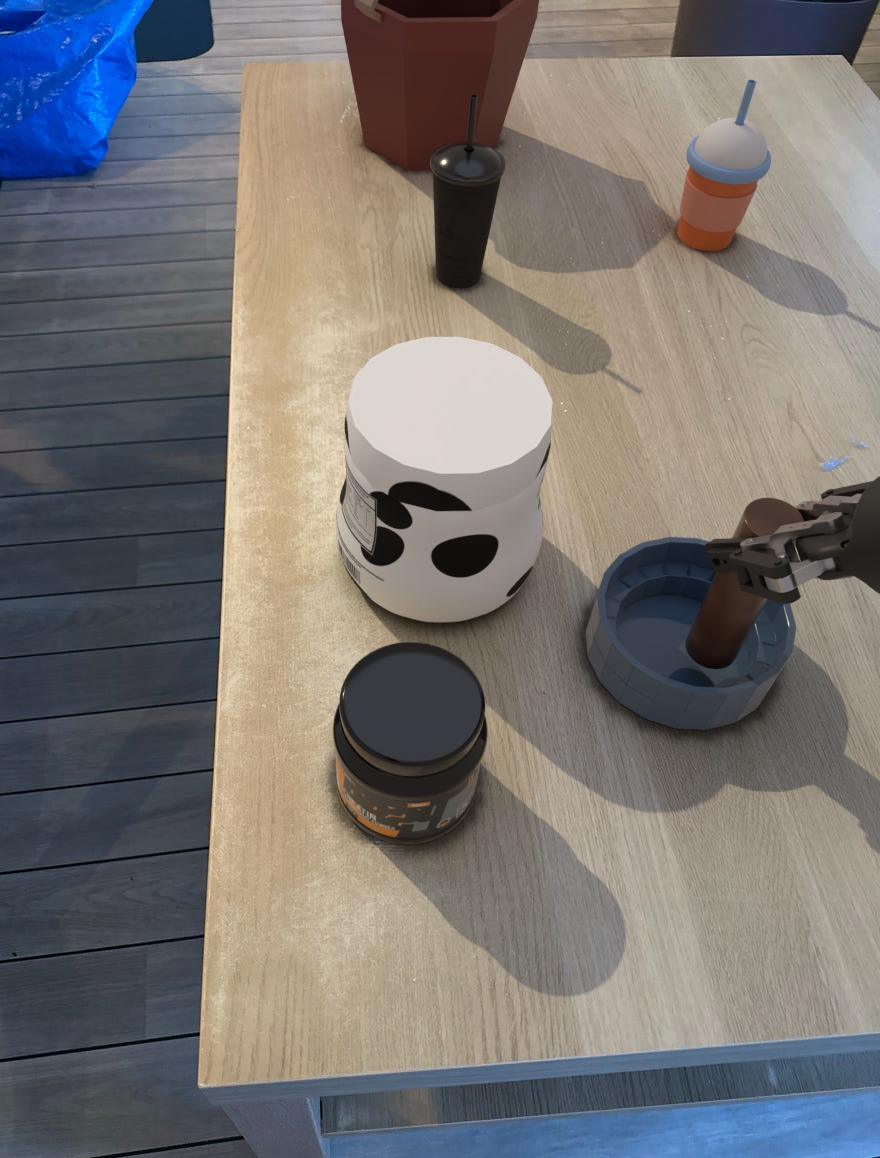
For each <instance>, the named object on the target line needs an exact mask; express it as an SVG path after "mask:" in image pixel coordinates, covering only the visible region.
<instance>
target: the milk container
mask: <svg viewBox="0 0 880 1158" xmlns="http://www.w3.org/2000/svg"><path fill="white" fill-rule="evenodd" d="M352 379H353V380H352V384H351V386H350V387H351V388H350V392H349V396H348V399H347V405H346V409H345V417H344V460H345V461H344V462H345V479H344V482H343V485H342V487H341V489H340V492H339V493H340V494H339V497H338V500H337V504H336V511H335V536H336V541H337V546H338V550H339V554H340V558H341V561H342V564H343V565H344V567H345V570H346V573H347V575H348V576H349V577H350V579H351V580H352V582H353V584H355V586H356V587H357V588H358V589H359V590H360V591H361V592H362V593H363V594H364V595H365V596H366V597H367V598H368V600H371V601H372V602H373V603H375V604H376V605H378V606H380V607H381V608H382V609H385V610H386V611H388V612H389V613H391V614H393V615H396V616H399V617H402V618H405V619H409V620H413V621H417V622H422V623H427V624H452V623H453V624H454V623H462V622H465V621H471V620H472V619H476V618H479V617H482V616H485V615H487V614H489V613H491V612H493V611H495V610H497V609H499V607H501V606H502V605H504V604H505V603H507V602H508V601H509V600H510V599H511V598H513V597H514V596H515V595H516V594H517V593H518V592H519V591H520V589H521V588H522V587H523V585H524V584H525V582H526V581H527V579H528V577H529V576H530V574H531V573H532V570H533V568H534V566H535V563H536V561H537V559H538V556H539V554H540V549H541V546H542V542H543V534H544V513H543V506H542V500H541V491H542V485H543V483H544V478H545V474H546V470H547V466H548V460H549V456H550V451H551V445H552V444H551V443H552V429H553V413H554V403H553V398H552V396H551V394H550V392H549V390H548V388H547V385H546V383H545V380H544V379H543V377H542V376H541V375H540V374H539V373H538V372H537V371H536V370H534V368H533V367H531V366H530V364H529V363H527V362H526V361H525V360H524V359H523V358H522V357H521V356H518V355H516V354H514V353H512V352H510V351H508V350H506V349H504V348H502V347H500V346H498V345H496V344H494V343H491V342H486V341H481V340H478V339H477V340H476V339H472V338H467V337H464V336H425V337H420V338H417V339H412V340H407V341H404V342H399V343H396V344H394V345H392V346H390V347H388V348H386V349H385V350H383V351H381V352H379V353H378V354H375V355H374V356H373V357H371V358H369V360H368V361H367V362H366V363H365V364H364V365H363V367H362V368H361V369H360V370H359V371H358V373H357V374H356V375H355V376H354V377H353V378H352Z"/></svg>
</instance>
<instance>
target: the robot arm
mask: <svg viewBox="0 0 880 1158" xmlns="http://www.w3.org/2000/svg"><path fill="white" fill-rule="evenodd" d="M820 498H821V500H804V501H801V502H800V503H798V504H797V505H795V506H794V507H795V508H796V509H797V510H798V511H799V512H800V513H801V515H802V516H803V518H804V521H805V522H799V523H793V524H788V525H782V526H780V527H779V528H778V529H777V530H776V531H775V532H774V533H773V534H772V535H766V536H760V537H754V538H732V537H728V538H727V537H726V538H713V539H711V540H710V541H709V543H707V544H706V545H705V551H706V553H707V556H708V559H709V562H710V564H711V567H712V569H713V570H714V571H716V572H735V573H736V576H737V579H738V581H739V586H740V589H741V591H744V592H747V593H750V594H753V595H756V596H759V597H762V598H766V599H769V600H772V601H775V602H778V603H781V604H789V603H790V604H793V603H795V602H797V601H798V600H800V599H801V597H802V596H801V593H800V592H801V591H800V590H799V586H801V585H803V584H805V583H807V582H810V581H811V580H813V579H818V580H821V581H837V580H843V579H844V580H845V579H850V578H853V577H854V578H856V579H858V580H859V581H861V582H862V583H864V584H865V585H866V586H868V587H869V588H870V589H872V590H873V591H874V592H876V593H877V594H879V595H880V475H879V476H877V477H876V478H875V479H874V480H871V481H866V482H861V483H856V484H851V485H846V486H841V487H837V488H829V489H826V490H825V491H824V492H822V493H821V494H820ZM795 537H796V538H797V539H796V541H795V546H796V547H795V546H794V543H793V540H792V538H795ZM768 548H771V549H773V550H774V551H775V554H776V556H772V555H768V554H765V553H764V550H763V549H768Z"/></svg>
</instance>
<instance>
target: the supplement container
mask: <svg viewBox="0 0 880 1158" xmlns="http://www.w3.org/2000/svg"><path fill="white" fill-rule="evenodd" d="M338 700H339V701H338V704H337V706H336V709H335V712H334V716H333V721H332V739H333V745H334V749H335V750H334V751H335V787H336V792H337V796H338V798H339V802H340V803H341V806H342V808H343V809H344V811H345V813H346V814H347V816H348V817H349V818H350V819H351V820H352V822H353V823H355V825H356V826H357V827H359V828H360V829H361V830H362V831H364V832H365V833H367V834H369V835H370V836H372V837H374V838H376V839H379V840H382V841H384V842H387V843H392V844H397V845H417V844H418V845H419V844H422V843H423V844H424V843H428V842H431V841H433V840H437V839H439V838H441V837H443V836H444V835H446V834H447V833H449V832H451V831H453V829H454V828H456V827H457V826H458V825H459V824H460V823H461V822H462V821H463V819H465V817H466V816H467V814H468V812H469V811H470V809H471V807H472V805H473V803H474V800H475V797H476V793H477V788H478V778H479V774H480V770H481V765H482V764H481V763H482V760H483V758H484V755H485V752H486V750H487V749H486V748H487V744H488V737H489V736H488V735H489V734H488V733H489V732H488V731H489V730H488V721H487V716H486V698H485V694H484V690H483V687H482V683H481V682H480V680H479V678H478V676H477V674H476V673H475V672H474V671H473V670H472V668H471V667H470V666H469V665H468V664H467V663H466V662H465V661H464V660H463V659H462V658H461V657H459V656H458V655H456V654H454V653H453V652H451V651H450V650H448V649H446V648H442V647H441V646H437V645H434V644H432V643H431V644H430V643H427V642H418V641H402V642H395V643H391V644H387V645H383V646H381V647H378V648H376V649H373V650H372V651H370V652H369V653H367V654H366V655H364V656H363V657H362V658H360V659H359V660H358V661H357V662H356V663H355V664H354V665H353V666H352V667H351V668H350V670H349V672H348V673H347V675H346V677H345V678H344V681H343V682H342V685H341V689H340V693H339V699H338Z"/></svg>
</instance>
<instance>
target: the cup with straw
mask: <svg viewBox="0 0 880 1158" xmlns="http://www.w3.org/2000/svg"><path fill="white" fill-rule="evenodd" d="M756 85H757V80H755V79H748V80H747V82H746V85H745V89H744V92H743V95H742V98H741V101H740V105H739V108H738V112H737V115H736V117H727V118H722V119H719V120H716V121H714V122H713V123H711V124H709V125H708V126H707V127H706V128H705V129H703V131H701V133H700V134H698V135H697V136H695V137H694V138H693V139H692V140H691V141H690V142H689V144H688V147H687V149H686V155H685V157H686V161H687V164H688V165H689V167H688V169H687V171H686V174H685V180H684V185H683V191H682V195H681V202H680V207H679V214H680V216H679V221H678V228H677V236H678V238H679V239H680V241H682V243H683V244H684V245H686V246H688V247H690V248H693V249H695V250H698V251H702V252H703V251H705V252H717V251H721V250H724V249H726V248H727V247H729V245H730V244H731V242H732V240H733V238H734V236H735V233H736V231H737V229H738V227H739V226H740V225H741V223H742V222H743V220H744V217H745V215H746V213H747V210H748V209H749V206H750V204H751V201H752V200H753V198H754V195H755V193H756V191H757V188H758V182H759V180H761V179H763V178H764V177H765V176H766V175H767V174H768V172H769V170H770V168H771V165H772V155H771V152H770V150H769V148H768V144H767V139H766V137H765V135H764V134H763V132H762V131H761V129H760V128H759V127H758V126H757V125H756V124H755V123H753V122H752V121H749V120H748V119H746V118H747V114H748V110H749V107H750V104H751V101H752V98H753V94H754V91H755V88H756Z"/></svg>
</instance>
